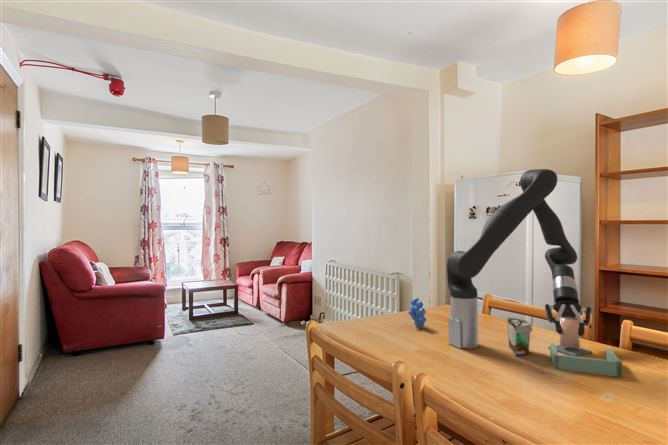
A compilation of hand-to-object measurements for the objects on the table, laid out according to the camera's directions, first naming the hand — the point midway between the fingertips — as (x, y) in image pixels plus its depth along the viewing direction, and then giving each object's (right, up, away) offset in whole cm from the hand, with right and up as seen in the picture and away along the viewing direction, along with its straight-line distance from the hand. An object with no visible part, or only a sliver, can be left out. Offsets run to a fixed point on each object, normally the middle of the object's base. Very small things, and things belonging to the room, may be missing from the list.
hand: (570, 333), depth 127 cm
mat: (+1, -6, +2) cm, 6 cm away
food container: (-15, -7, +1) cm, 17 cm away
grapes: (-44, -7, +34) cm, 56 cm away
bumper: (-3, -6, -11) cm, 13 cm away
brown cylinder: (+1, -4, +2) cm, 5 cm away
